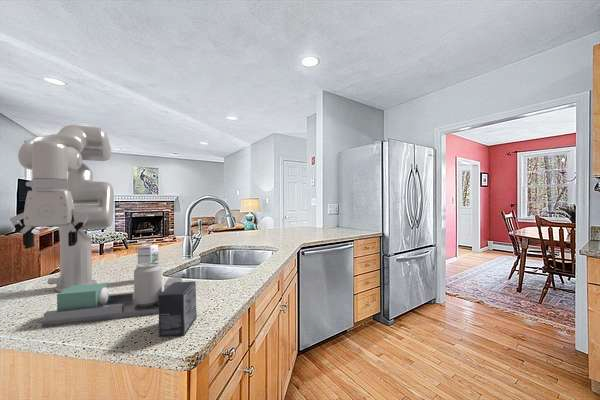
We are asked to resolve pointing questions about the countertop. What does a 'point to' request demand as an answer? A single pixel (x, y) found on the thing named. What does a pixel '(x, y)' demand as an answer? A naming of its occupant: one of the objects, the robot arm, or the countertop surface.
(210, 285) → the countertop surface
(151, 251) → the syrup box
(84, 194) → the robot arm
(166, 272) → the countertop surface
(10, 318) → the countertop surface
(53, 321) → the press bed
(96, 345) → the countertop surface
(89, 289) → the block
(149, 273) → the can
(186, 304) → the small box
